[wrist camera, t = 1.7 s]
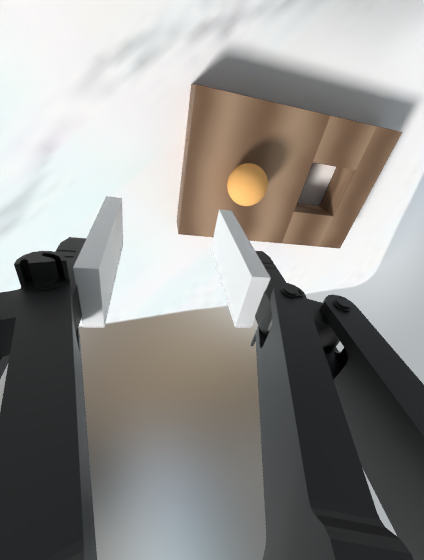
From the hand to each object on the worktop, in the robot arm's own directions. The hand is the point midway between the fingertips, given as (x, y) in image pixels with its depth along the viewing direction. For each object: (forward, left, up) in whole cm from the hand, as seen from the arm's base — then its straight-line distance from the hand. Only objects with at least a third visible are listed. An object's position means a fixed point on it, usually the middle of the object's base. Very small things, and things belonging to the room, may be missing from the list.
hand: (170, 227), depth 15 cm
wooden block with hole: (0, +13, -17) cm, 21 cm away
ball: (0, +8, -11) cm, 14 cm away
